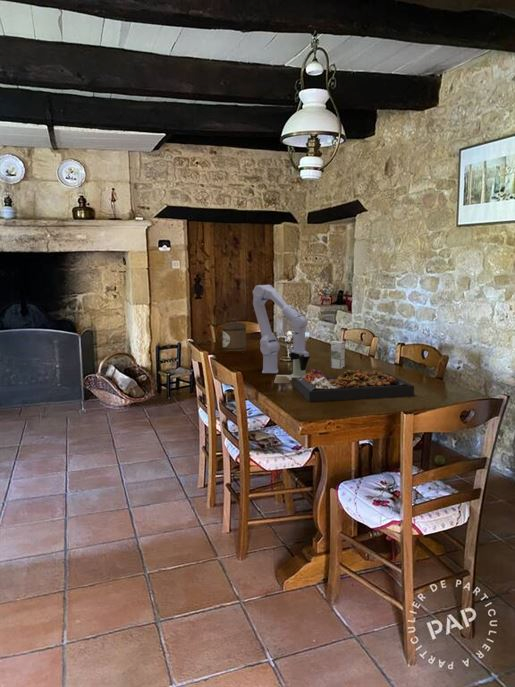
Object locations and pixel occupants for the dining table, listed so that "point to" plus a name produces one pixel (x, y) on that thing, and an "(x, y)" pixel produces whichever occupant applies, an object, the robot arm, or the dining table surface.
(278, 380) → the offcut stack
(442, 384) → the dining table surface
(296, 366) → the grey green block
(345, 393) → the food platter
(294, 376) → the mat
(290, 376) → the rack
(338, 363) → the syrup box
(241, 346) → the brown lidded canister
